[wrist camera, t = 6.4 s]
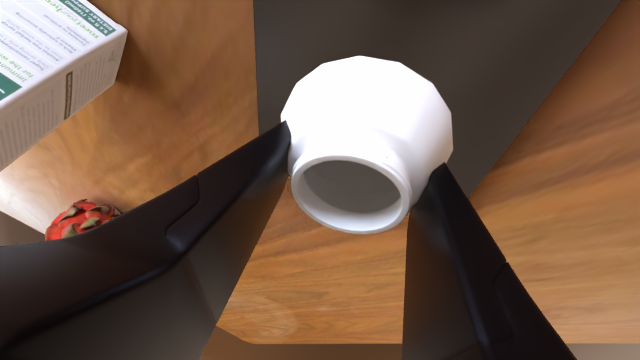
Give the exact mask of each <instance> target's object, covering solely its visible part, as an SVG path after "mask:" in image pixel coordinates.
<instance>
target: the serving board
mask: <svg viewBox="0 0 640 360" xmlns="http://www.w3.org/2000/svg"><path fill="white" fill-rule="evenodd" d="M621 1H622V0H253V6H254V30H255V53H256V76H257V100H258V123H259V136H260V135H261V134H263V133H265V132H266V131H268V130H270V129H271V128H273V127H274V126H276V125H278V124H279V123H281V113H282V111H283V109H284V107H285V105H286V103H287V101H288V99H289V97H290V95H291V92H292V90H293V89H294V87H295V85H296V83H297V82H299V81H300V80H301V79H303V78H304V77H305V76H307V75H308V74H310V73H311V72H312V71H314V70H315V69H316V68H318V67H319V66H320V65H322V64H324V63H328V62H333V61H337V60H342V59H347V58H351V57H356V56H364V57H370V58H376V59H382V60H387V61H393V62H399V63H401V64H403V65H404V66H406V67H407V68H409V69H411V70H412V71H414V72H415V73H417V74H418V75H420V76H422V77H423V78H425V79H426V80H428V81H430V82H431V83H433V85H434V86H435V88H436V89H437V91H438V93H439V94H440V96H441V97H442V99H443V100H444V102H445V104H446V105H447V107H448V108H449V110H450V112H451V121H452V139H453V151H452V153H451V155H450V157H449V159H448V161H447V163H446V165H447V166H448V168H449V170H450V171H451V173H452V174H453V176H454V177H455V179H456V181H457V182H458V184H459V185H460V187H461V189H462V190H463V192H464V193H465V195H466V197H467V198H469V197H470V195H471V194H472V193H473V192H474V190H475V189H476V188H477V186H478V185H479V184H480V183H481V181H482V180H483V179H484V177H485V176H486V175H487V174H488V172H489V171H490V170H491V168H492V167H493V166H494V164H495V163H496V162H497V161H498V159H499V158H500V157H501V155H502V154H503V153H504V152H505V150H506V149H507V148H508V146H509V145H510V144H511V143H512V141H513V140H514V139H515V137H516V136H517V135H518V134H519V132H520V131H521V130H522V128H523V127H524V126H525V125H526V123H527V122H528V121H529V119H530V118H531V117H532V115H533V114H534V113H535V112H536V110H537V109H538V108H539V106H540V105H541V104H542V103H543V101H544V100H545V99H546V97H547V96H548V95H549V94H550V92H551V91H552V90H553V88H554V87H555V86H556V85H557V83H558V82H559V81H560V79H561V78H562V77H563V76H564V74H565V73H566V72H567V70H568V69H569V68H570V66H571V65H572V64H573V63H574V61H575V60H576V59H577V57H578V56H579V55H580V54H581V52H582V51H583V50H584V48H585V47H586V46H587V45H588V43H589V42H590V41H591V39H592V38H593V37H594V36H595V34H596V33H597V32H598V30H599V29H600V28H601V27H602V25H603V24H604V23H605V21H606V20H607V19H608V17H609V16H610V15H611V14H612V12H613V11H614V10H615V8H616V7H617V6H618V5H619V3H620V2H621ZM288 176H290V175H288Z"/></svg>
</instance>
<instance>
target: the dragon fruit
mask: <svg viewBox="0 0 640 360" xmlns="http://www.w3.org/2000/svg"><path fill="white" fill-rule="evenodd" d="M85 200H87V199H84V200H80V201H78V202H76V203H74V204H73V205H71V207H70V208H69V209H68V210H67V211H65V212H63V213H61V214H60V215H59V216H58V217H57V218H56V219H55V220H54V221H53V222H52V224H51V226H49V227H48V228H47V229H46V233H45V241H48V240H56V239H62V238H66V237H70V236H74V235H77V234H80V233H83V232H85V231H88V230H90V229H93V228H95V227H97V226H99V225H101V224H103V223H105V222H107V221H109V220H111V219H113V218H115V217H117V216H119V215H121V213H120V212H119V211H118V210H117V209H116V208H115V207H114V206H113V205H102V206H96V204H95V203H94V202H88V201H85Z"/></svg>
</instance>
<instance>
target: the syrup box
mask: <svg viewBox="0 0 640 360" xmlns="http://www.w3.org/2000/svg"><path fill="white" fill-rule="evenodd" d="M127 33H128V31H127V30H126V29H125V28H124V27H122V26H121V25H119V24H116V23H115V22H114V21H112V20H111V19H110V18H109V17H107V16H106V15H105V14H103V13H102V12H101V11H100V10H99V9H97V8H96V7H95V6H93V5H92V4H91V3H89V2H88V1H87V0H0V172H1V171H2V170H3V169H4V168H6V167H7V166H8V165H10V164H11V163H12V162H14V161H15V160H16V159H17V158H19V157H20V156H21V155H22V154H24V153H25V152H26V151H28V150H29V149H30V148H31V147H33V146H34V145H35V144H37V143H38V142H39V141H40V140H42V139H43V138H44V137H46V136H47V135H48V134H50V133H51V132H52V131H54V130H55V129H56V128H57V127H59V126H60V125H61V124H63V123H64V122H65V121H66V120H68V119H69V118H71V117H72V116H73V115H74V114H76V113H77V112H78V111H80V110H81V109H82V108H84V107H85V106H86V105H87V104H89V103H90V102H91V101H93V100H94V99H95V98H96V97H98V96H99V95H100V94H102V93H103V92H104V91H106V90H107V89H108V88H109V87H111V86H112V85H113V84H114V82H115V79H116V76H117V72H118V69H119V65H120V61H121V57H122V54H123V50H124V45H125V42H126V38H127Z"/></svg>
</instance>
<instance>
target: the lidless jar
mask: <svg viewBox="0 0 640 360" xmlns="http://www.w3.org/2000/svg"><path fill="white" fill-rule="evenodd" d="M284 120H286V121H287V124H288V126H289V129H290V132H291V142H290V146H289V151H288V173H289V175H290V177H291V191H292V195H293V197H294V200H295V201H296V203H297V204H298V206H299V207H300V208H301V209H302V210H303V211H304V212H305V213H306V214H307V215H308V216H309V217H311V218H312V219H313V220H315V221H317V222H318V223H320V224H322V225H324V226H326V227H329V228H331V229H334V230H337V231H341V232H345V233H351V234H374V233H379V232H383V231H386V230H389V229H391V228H393V227H395V226H396V225H398V224H399V223H400V222H401V221H402V220H403V219H404V218H405V217H406V216H407V214H408V213H409V211H410V209H411V207H412V206H413V205H415V204H416V203H417V202H418V200H419V198H420V196H421V195H422V193H423V191H424V189H425V187H426V185H427V184H428V181H429V177H430V174H431V173H432V171H433V170H434V169H436V168H437V167H438V166H440V165H441V164H442V163H443V162H445V163H447V161H448V159H449V157H450V155H451V153H452V151H453V139H452V121H451V112H450V110H449V108H448V107H447V105H446V104H445V102H444V100H443V99H442V97H441V96H440V94H439V93H438V91H437V89H436V88H435V86H434V85H433V83H431V82H430V81H428V80H426V79H425V78H423V77H422V76H420V75H418V74H417V73H415V72H414V71H412V70H411V69H409V68H407V67H406V66H404V65H403V64H401V63H399V62H393V61H387V60H382V59H376V58H370V57H364V56H356V57H351V58H347V59H342V60H337V61H333V62H328V63H324V64H322V65H320V66H319V67H318V68H316V69H315V70H314V71H312V72H311V73H310V74H308V75H307V76H305V77H304V78H303V79H301V80H300V81H299V82H297V83H296V85H295V87H294V89H293V90H292V92H291V95H290V97H289V99H288V101H287V103H286V105H285V107H284V109H283V111H282V113H281V122H283V121H284Z"/></svg>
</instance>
